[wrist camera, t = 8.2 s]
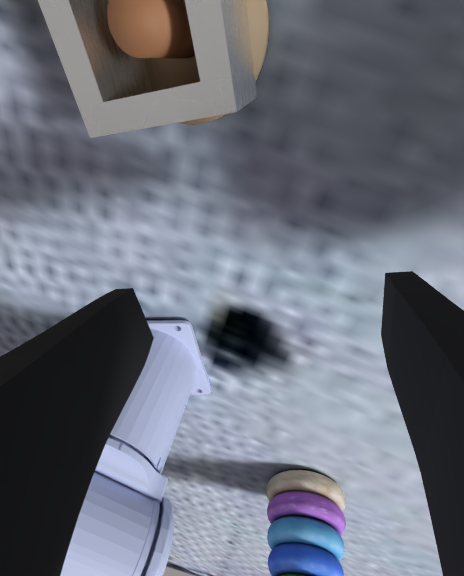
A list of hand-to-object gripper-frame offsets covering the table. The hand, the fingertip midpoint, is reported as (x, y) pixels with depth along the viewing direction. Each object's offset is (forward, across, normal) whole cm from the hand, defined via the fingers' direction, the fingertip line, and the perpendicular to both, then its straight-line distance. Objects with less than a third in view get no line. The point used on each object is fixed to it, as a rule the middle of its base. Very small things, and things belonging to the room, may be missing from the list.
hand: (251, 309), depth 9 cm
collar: (+9, +3, -8) cm, 12 cm away
